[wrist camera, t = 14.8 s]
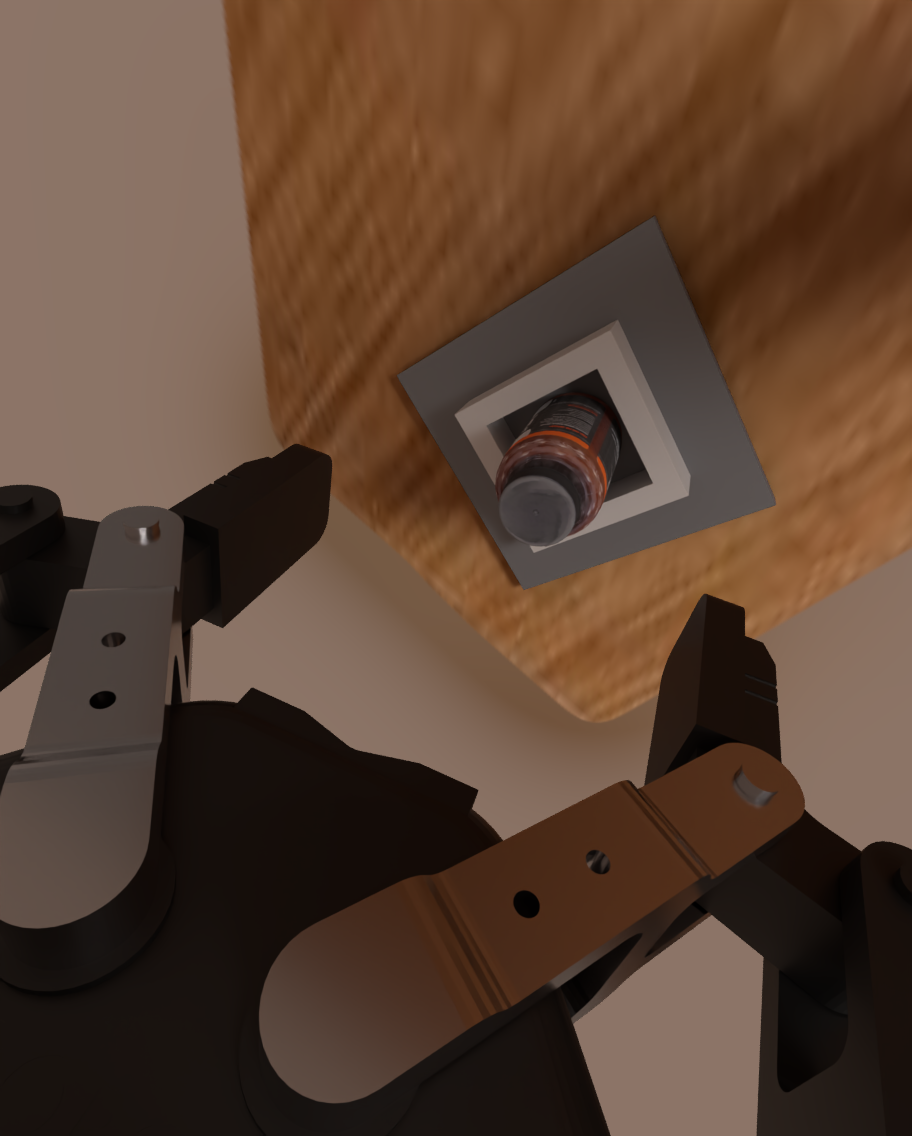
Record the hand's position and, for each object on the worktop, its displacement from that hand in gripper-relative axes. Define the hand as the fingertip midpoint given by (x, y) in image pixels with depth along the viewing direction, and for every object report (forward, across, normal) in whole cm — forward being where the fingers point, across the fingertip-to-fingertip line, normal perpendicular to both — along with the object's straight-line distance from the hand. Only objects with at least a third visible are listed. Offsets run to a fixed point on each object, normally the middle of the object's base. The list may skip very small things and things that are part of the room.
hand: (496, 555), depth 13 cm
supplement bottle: (+28, +2, +9) cm, 30 cm away
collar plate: (+29, +2, +9) cm, 31 cm away
